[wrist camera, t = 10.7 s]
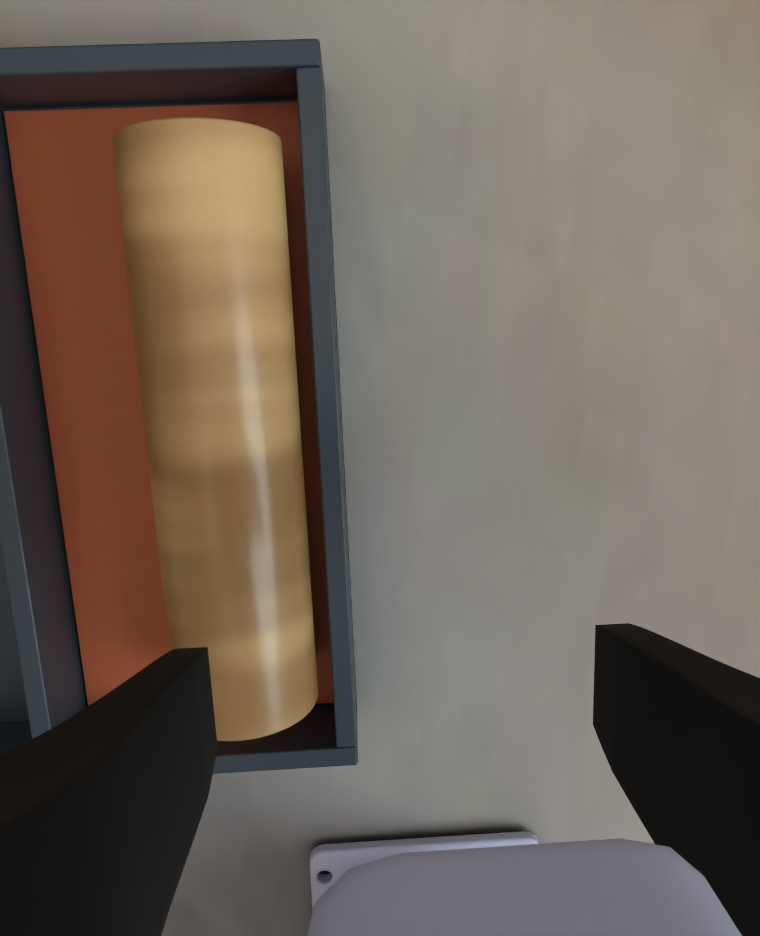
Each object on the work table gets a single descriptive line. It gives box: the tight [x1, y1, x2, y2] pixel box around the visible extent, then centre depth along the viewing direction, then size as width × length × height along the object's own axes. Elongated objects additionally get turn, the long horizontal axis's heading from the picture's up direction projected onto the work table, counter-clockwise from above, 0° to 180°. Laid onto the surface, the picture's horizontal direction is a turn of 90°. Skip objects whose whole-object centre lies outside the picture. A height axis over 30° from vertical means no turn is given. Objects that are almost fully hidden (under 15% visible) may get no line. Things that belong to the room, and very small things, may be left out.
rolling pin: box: [112, 117, 318, 741], centre depth 18 cm, size 15×4×4 cm
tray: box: [0, 39, 358, 774], centre depth 19 cm, size 19×18×3 cm
